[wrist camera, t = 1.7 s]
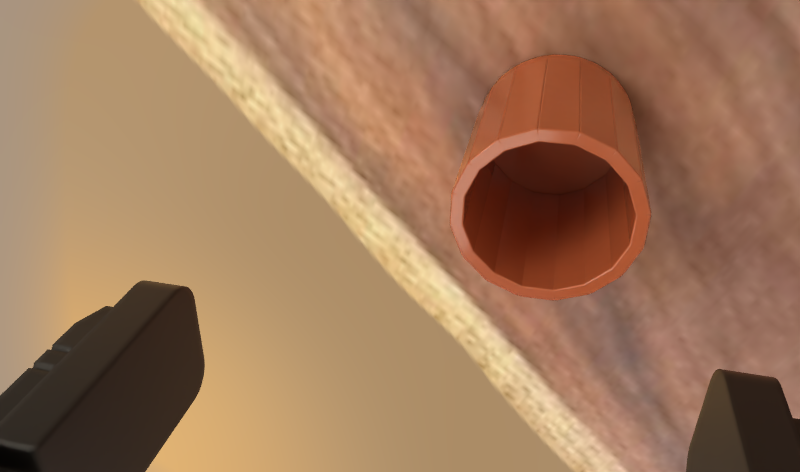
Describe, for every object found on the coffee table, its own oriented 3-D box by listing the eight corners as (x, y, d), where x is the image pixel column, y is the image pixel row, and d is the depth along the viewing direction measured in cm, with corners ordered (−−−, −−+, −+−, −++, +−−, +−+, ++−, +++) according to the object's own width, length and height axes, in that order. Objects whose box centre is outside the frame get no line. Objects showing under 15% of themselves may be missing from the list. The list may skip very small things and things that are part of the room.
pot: (484, 48, 27) (454, 120, 21) (647, 59, 26) (668, 139, 20) (474, 188, 30) (446, 286, 24) (620, 203, 29) (630, 311, 23)
